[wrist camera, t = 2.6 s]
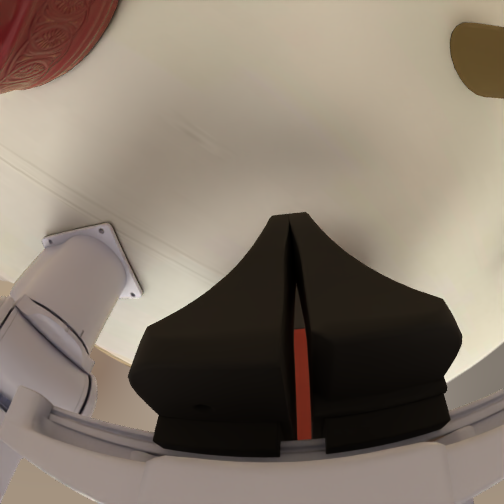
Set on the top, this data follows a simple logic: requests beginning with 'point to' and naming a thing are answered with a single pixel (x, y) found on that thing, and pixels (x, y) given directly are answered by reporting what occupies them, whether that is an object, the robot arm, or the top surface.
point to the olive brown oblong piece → (479, 58)
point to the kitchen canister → (47, 38)
